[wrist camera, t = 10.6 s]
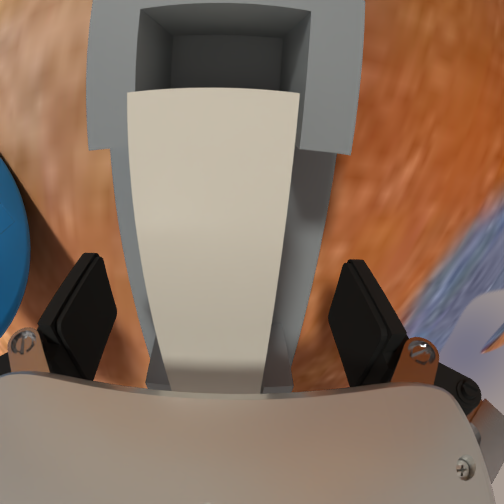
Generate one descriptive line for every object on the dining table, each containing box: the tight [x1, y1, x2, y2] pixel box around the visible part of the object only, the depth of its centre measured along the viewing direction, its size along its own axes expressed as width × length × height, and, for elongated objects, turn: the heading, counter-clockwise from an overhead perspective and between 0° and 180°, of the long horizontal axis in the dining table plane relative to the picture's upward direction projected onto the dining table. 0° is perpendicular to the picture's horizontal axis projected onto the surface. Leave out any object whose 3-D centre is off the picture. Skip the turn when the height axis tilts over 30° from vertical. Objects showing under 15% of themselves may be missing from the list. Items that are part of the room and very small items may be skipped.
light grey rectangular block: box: [127, 88, 300, 394], centre depth 11 cm, size 3×14×7 cm, turn 177°
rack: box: [86, 0, 365, 394], centre depth 12 cm, size 10×21×6 cm, turn 176°
